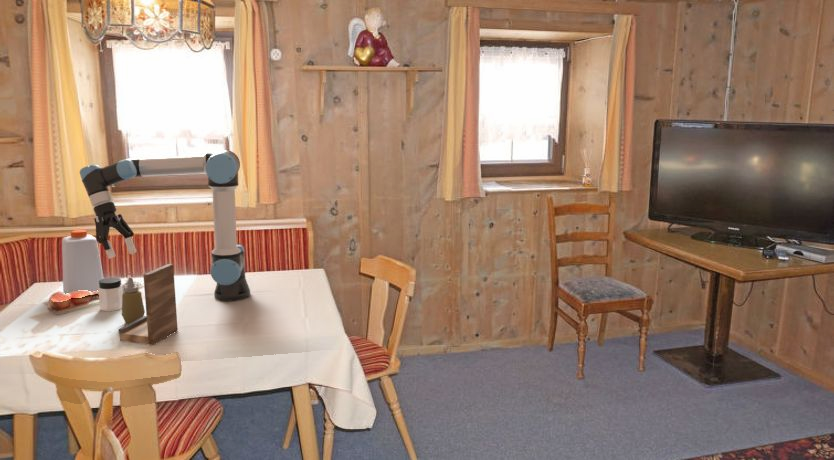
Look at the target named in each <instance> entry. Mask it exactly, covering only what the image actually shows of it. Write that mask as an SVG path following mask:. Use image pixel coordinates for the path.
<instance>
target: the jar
mask: <svg viewBox="0 0 834 460" xmlns="http://www.w3.org/2000/svg"><path fill="white" fill-rule="evenodd" d="M123 287H124V286H123V284H122V279H121V278H120V277H114V276H112V277H104V279H101V280H100V281H99V288H98V291H99V294H98V299H99V308H100V309H99V310H101V311H104V312H113V311H120V310H122V294H123V293H124V288H123Z"/></svg>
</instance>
